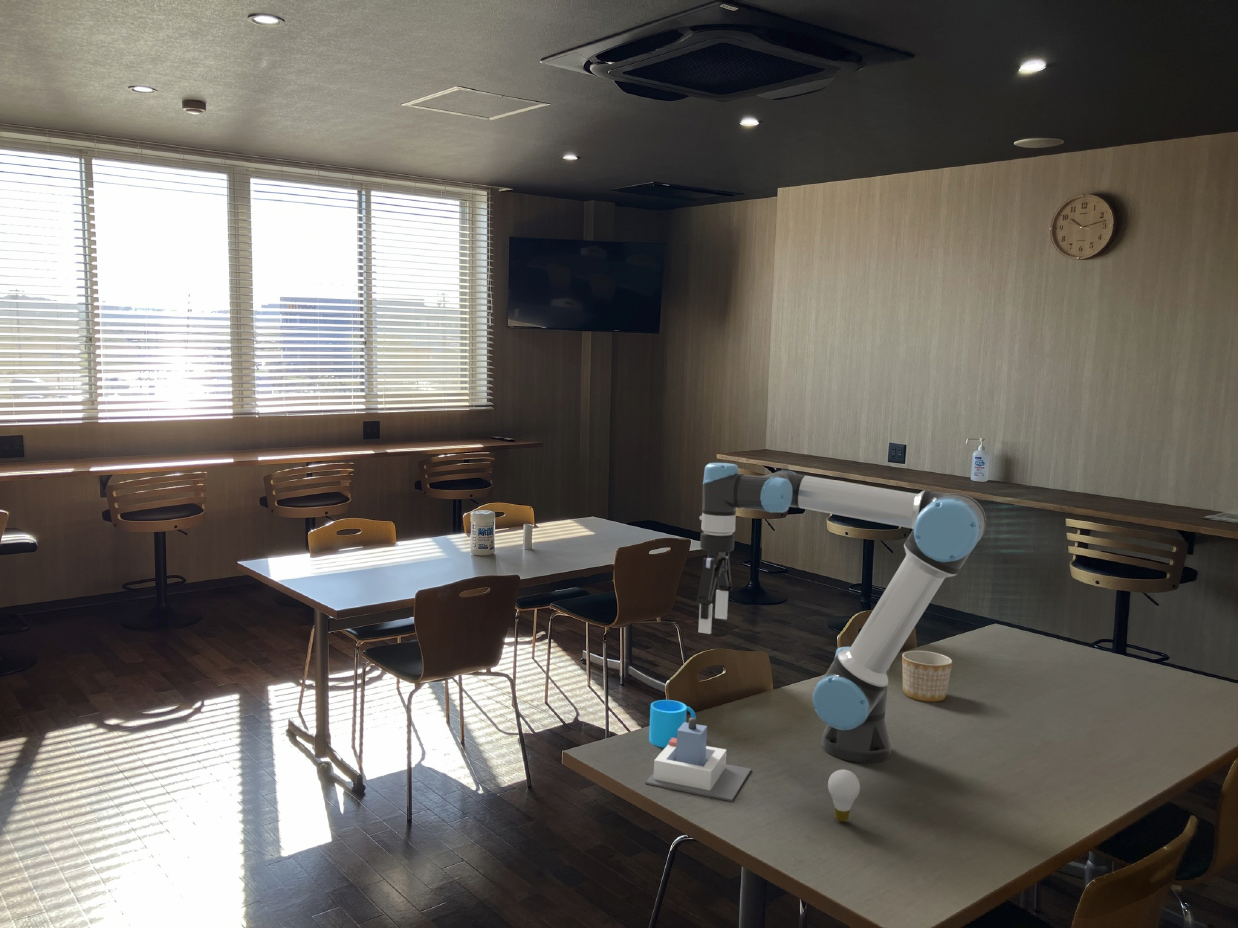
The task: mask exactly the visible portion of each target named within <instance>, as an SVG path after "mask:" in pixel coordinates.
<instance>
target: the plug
mask: <svg viewBox="0 0 1238 928" xmlns="http://www.w3.org/2000/svg"><path fill="white" fill-rule="evenodd" d="M697 719H698V718H697V717H696V718H693V717H691V716H690V717H689V718H688V722H687V721H686V722H684V723H683V724H682V725H681V726H680V728H679V729H678V730H677V747H676V761H677V762H682V763H688V764H693V765H698V766H704V764H705V758H706V746H707V737H708V736H707V735H708V725H702V724H697Z"/></svg>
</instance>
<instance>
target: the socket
mask: <svg viewBox="0 0 1238 928" xmlns="http://www.w3.org/2000/svg"><path fill="white" fill-rule="evenodd" d="M676 747H677V738H671V740H670V741H669V744H668V745H667V746H666V748H663V750H662V751H661V752H660V753H659V754H658V755H657V757H656V758H655V759H654V761H653V772H652V774H651V775H650V776H649V777H648V778H647V779H646V781H645V783H644V784H645V785H649V786H653V787H654V786H655V787H660V788H664V789H670V790H673V791H679V792H684V793H688V794H689V793H690V794H695V795H699V796H703V797H707V798H713V799H718V800H722V801H723V800H724V801H728V802H733V801H734V799H735V797H736V796H737V794H738V792H739V791H740V790H741V788H742V785H743V784H744V783H745V781H746V779H747V778H748V777H749V775H750V773H751V770H752V769H751V768H749V767H744V766H739V765H738V766H737V765H733V764H727V749H726V748H720V747H714V746H708V745H706V758H705V764H704V766H698V765H693V764H688V763H682V762H677V761H676Z"/></svg>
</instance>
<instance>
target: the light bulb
mask: <svg viewBox="0 0 1238 928" xmlns="http://www.w3.org/2000/svg"><path fill="white" fill-rule="evenodd" d="M827 789H828V792H829V794H830V797H831V798H832V801H833V806H834V818H835V819H836V820H837V821H838V822H839V823H844V822H845V823H846V822H847V821H848V820H849V819H850V813H851V808H852V806H853V803H854V802H855V800H856V799H857V798H858V796H859V794H860V790H861V784H860V780H859V778H858V777H857V775H856V774H855V773H854V772H853V771H851V770H848V769H837V770H835V771H834V772H833V773H832V774H831V775H830V776H829V778H828V782H827Z"/></svg>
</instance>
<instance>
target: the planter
mask: <svg viewBox="0 0 1238 928" xmlns="http://www.w3.org/2000/svg"><path fill="white" fill-rule="evenodd" d="M901 655H902V656H901V657H902V660H901V661H902V662H901V663H902V691H903V694H904V695H905V696H907V697H908V698H910V699H912V700H915V699H916V700H915V701H920V702H925V701H926V703H937V702H941V701H943V700H945V699H946V698H947V694H948V693H947V692H948V688H949V682H950V676H951V671H952V664H953V660H952V659H951V658H950V657H949V656H947V655H944V654H942V653H938V652H933V651H926V650H909V651H906V652H903V653H902V654H901Z"/></svg>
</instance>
